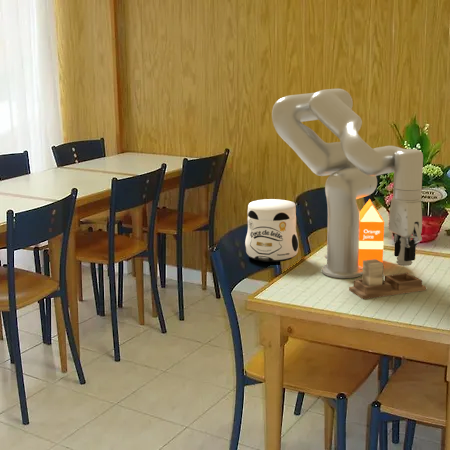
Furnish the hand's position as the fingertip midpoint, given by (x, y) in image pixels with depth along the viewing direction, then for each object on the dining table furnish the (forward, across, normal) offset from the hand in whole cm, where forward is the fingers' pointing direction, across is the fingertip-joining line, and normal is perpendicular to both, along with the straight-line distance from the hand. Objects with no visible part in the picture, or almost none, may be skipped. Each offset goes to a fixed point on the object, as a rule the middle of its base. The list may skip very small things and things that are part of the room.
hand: (404, 257), depth 203 cm
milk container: (+9, -41, -23) cm, 48 cm away
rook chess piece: (+2, 0, 0) cm, 2 cm away
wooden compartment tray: (+9, 0, -5) cm, 10 cm away
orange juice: (+9, -24, +3) cm, 26 cm away
